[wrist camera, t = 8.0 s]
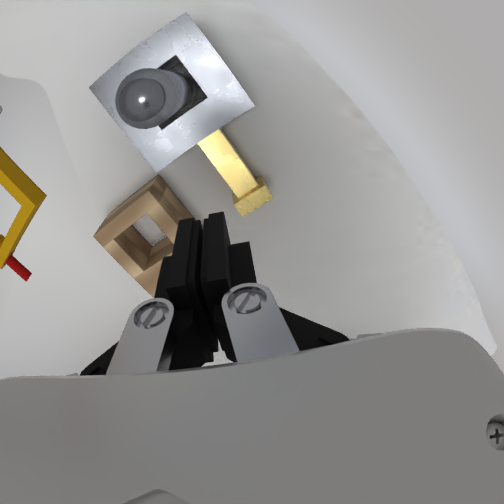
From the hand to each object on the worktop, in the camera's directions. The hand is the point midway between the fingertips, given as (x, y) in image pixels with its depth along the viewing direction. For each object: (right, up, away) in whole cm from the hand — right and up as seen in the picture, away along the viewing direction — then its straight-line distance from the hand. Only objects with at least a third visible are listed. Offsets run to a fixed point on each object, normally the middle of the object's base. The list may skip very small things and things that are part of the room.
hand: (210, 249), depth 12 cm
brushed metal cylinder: (-6, +16, +15) cm, 22 cm away
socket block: (-6, +16, +15) cm, 22 cm away
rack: (-7, +1, +24) cm, 25 cm away
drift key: (-1, +10, +19) cm, 21 cm away
